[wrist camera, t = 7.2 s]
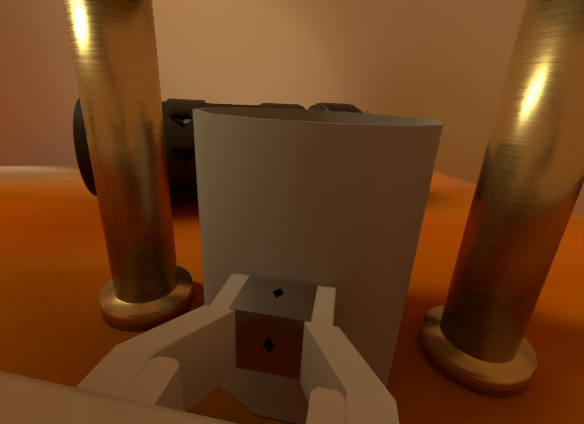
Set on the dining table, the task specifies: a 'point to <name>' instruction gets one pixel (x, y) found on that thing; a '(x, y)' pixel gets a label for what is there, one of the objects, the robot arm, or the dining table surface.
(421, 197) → the cup
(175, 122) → the muzzle brake
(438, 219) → the dining table surface
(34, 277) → the dining table surface
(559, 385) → the dining table surface
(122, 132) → the candlestick inner
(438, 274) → the dining table surface
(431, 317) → the candlestick outer
